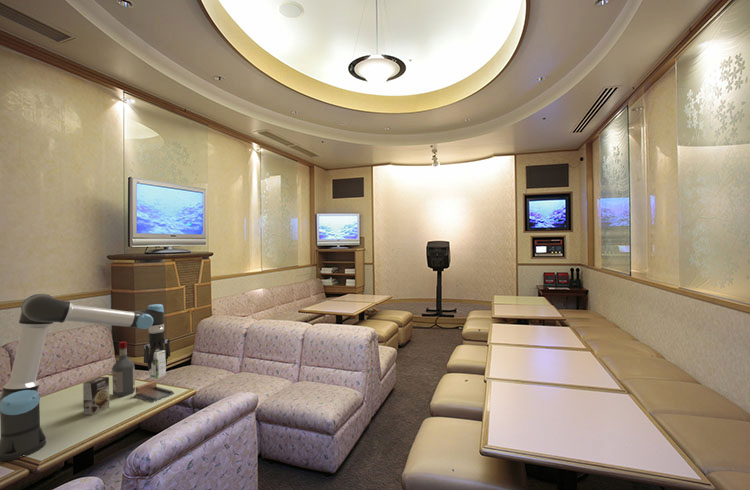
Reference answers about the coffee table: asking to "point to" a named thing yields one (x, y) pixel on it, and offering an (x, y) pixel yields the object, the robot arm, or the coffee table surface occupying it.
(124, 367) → the liquor
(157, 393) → the rail board
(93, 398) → the coffee box
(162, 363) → the syrup box
